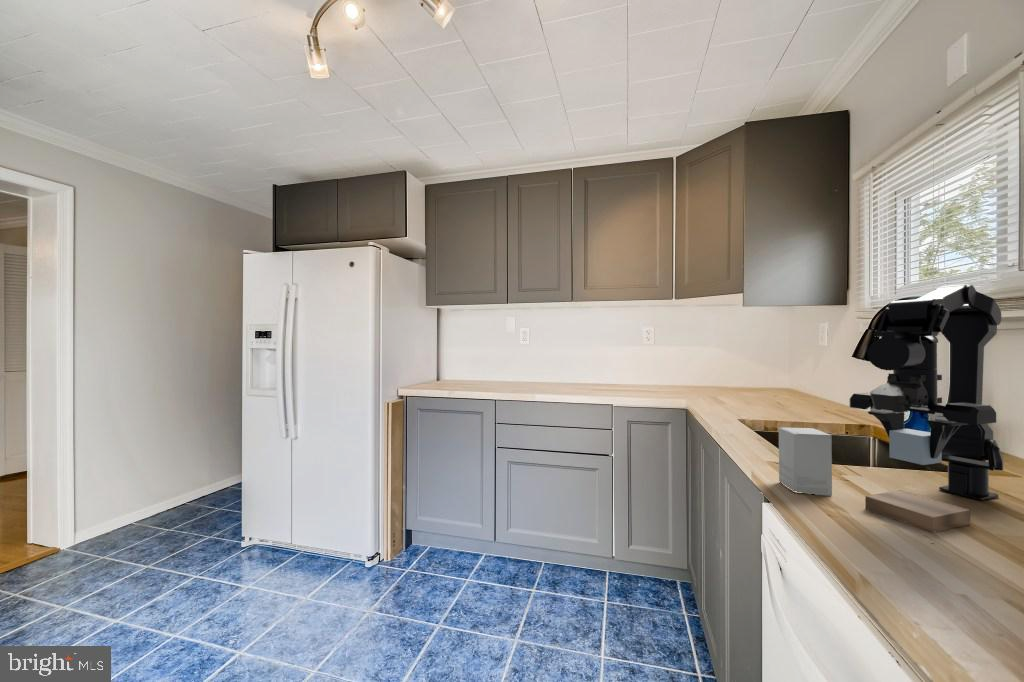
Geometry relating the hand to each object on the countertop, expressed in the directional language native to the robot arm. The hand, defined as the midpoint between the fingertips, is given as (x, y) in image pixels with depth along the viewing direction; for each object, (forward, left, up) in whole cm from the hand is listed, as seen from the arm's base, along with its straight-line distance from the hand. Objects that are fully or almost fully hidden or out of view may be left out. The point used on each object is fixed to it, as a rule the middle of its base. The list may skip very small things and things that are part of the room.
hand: (915, 454), depth 75 cm
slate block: (0, 0, -1) cm, 1 cm away
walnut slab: (0, 0, -11) cm, 11 cm away
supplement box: (+6, -16, -12) cm, 21 cm away
